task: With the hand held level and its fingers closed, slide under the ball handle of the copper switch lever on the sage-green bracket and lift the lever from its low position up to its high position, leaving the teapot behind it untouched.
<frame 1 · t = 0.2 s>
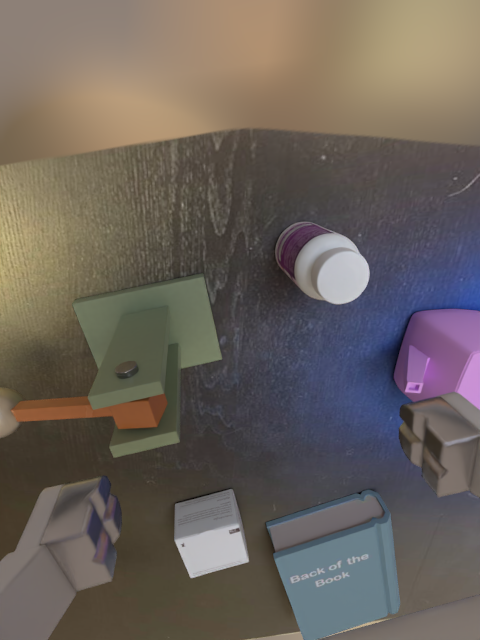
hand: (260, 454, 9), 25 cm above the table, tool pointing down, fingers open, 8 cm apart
pill bottle: (300, 249, 33), on the table
small box: (210, 512, 46), on the table
teapot: (438, 346, 41), on the table
lever: (63, 408, 24), point 11 cm above the table, hinge at -15.0°
bracket: (153, 328, 34), on the table
book: (331, 550, 54), on the table
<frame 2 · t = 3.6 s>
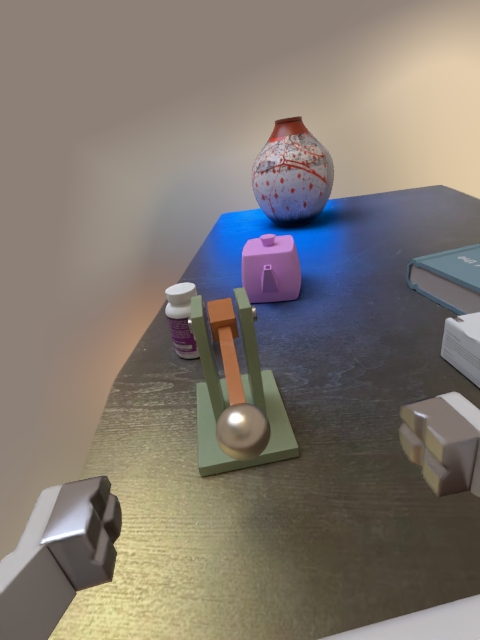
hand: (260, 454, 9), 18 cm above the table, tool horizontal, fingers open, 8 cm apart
pill bottle: (195, 350, 50), on the table
teapot: (273, 291, 64), on the table
lever: (231, 368, 27), point 11 cm above the table, hinge at -15.0°
vase: (295, 223, 106), on the table
bracket: (241, 419, 36), on the table
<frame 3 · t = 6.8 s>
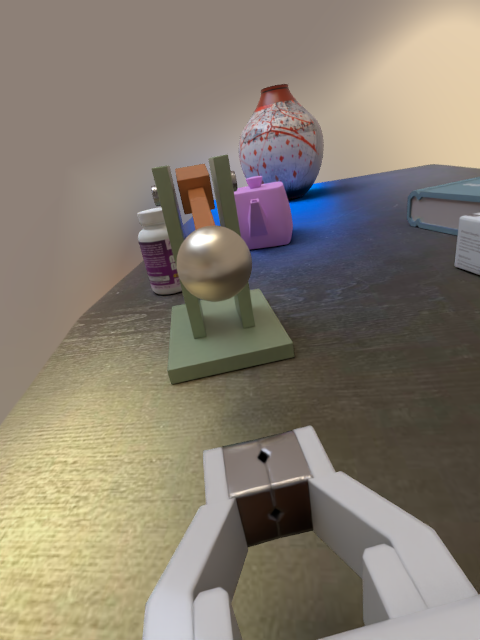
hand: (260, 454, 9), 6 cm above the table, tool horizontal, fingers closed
pill bottle: (174, 289, 44), on the table
teapot: (262, 242, 59), on the table
lever: (203, 220, 21), point 11 cm above the table, hinge at -15.0°
vase: (285, 199, 102), on the table
bracket: (224, 333, 30), on the table
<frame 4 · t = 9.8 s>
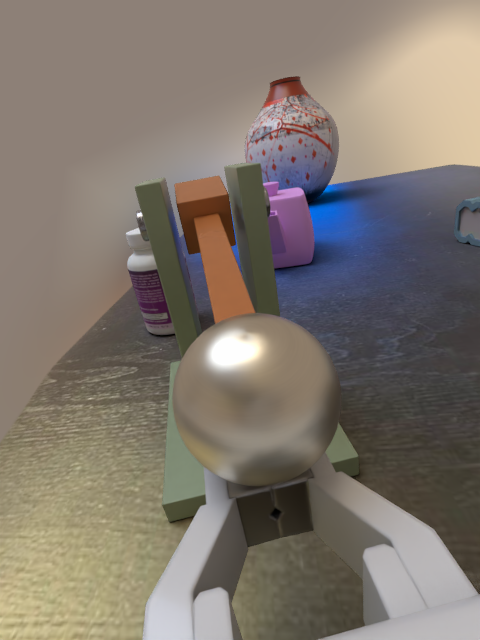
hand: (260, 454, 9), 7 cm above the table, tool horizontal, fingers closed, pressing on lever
pill bottle: (174, 325, 35), on the table
teapot: (277, 259, 50), on the table
lever: (221, 274, 12), point 11 cm above the table, hinge at -13.3°, touching gripper
vase: (295, 203, 94), on the table
bracket: (244, 413, 21), on the table
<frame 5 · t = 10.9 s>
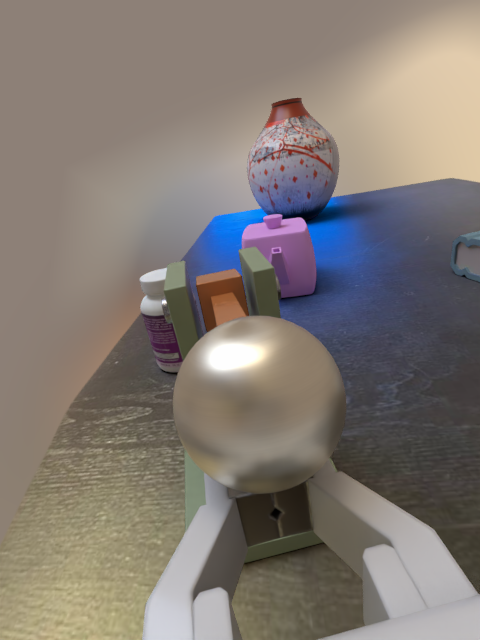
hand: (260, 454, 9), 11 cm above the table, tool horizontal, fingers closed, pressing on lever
pill bottle: (184, 361, 37), on the table
teapot: (281, 286, 52), on the table
lever: (233, 329, 12), point 13 cm above the table, hinge at 9.4°, touching gripper
vase: (297, 219, 95), on the table
bracket: (255, 463, 23), on the table
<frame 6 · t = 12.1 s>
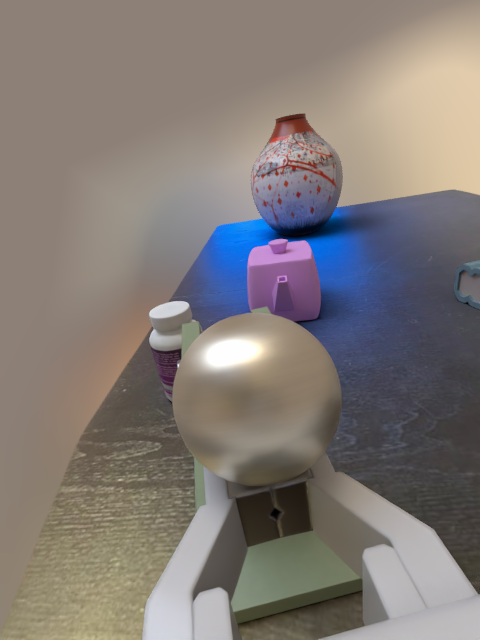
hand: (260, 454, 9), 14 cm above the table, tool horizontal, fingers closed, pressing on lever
pill bottle: (191, 390, 38), on the table
teapot: (285, 309, 52), on the table
lever: (241, 371, 13), point 15 cm above the table, hinge at 27.6°, touching gripper
vase: (300, 232, 96), on the table
bracket: (264, 508, 24), on the table
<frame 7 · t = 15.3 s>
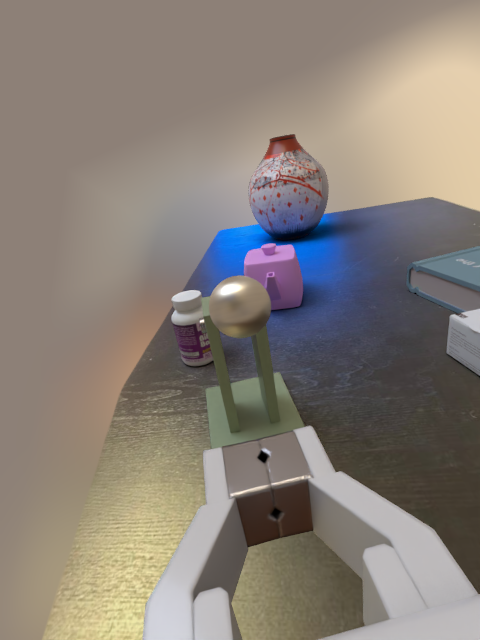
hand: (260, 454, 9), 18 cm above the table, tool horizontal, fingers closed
pill bottle: (201, 358, 50), on the table
teapot: (275, 300, 65), on the table
lever: (236, 314, 25), point 15 cm above the table, hinge at 27.7°
vase: (292, 236, 108), on the table
bracket: (253, 421, 36), on the table
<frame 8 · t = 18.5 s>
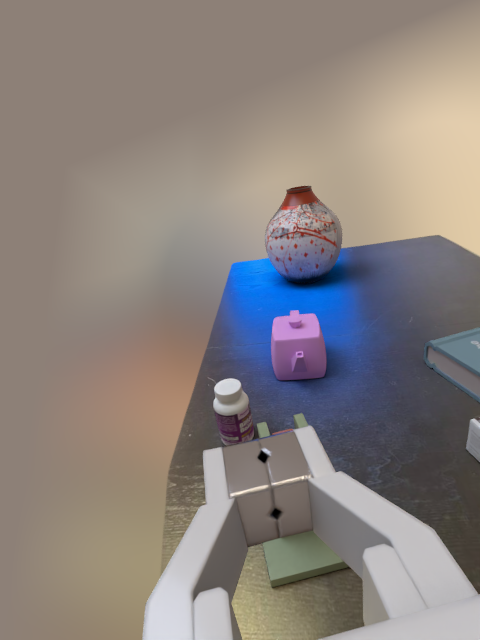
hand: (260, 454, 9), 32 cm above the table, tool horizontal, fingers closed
pill bottle: (238, 437, 54), on the table
teapot: (299, 365, 69), on the table
lever: (299, 466, 30), point 15 cm above the table, hinge at 27.7°
vase: (306, 278, 113), on the table
bracket: (297, 521, 41), on the table
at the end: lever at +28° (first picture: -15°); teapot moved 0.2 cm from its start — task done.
